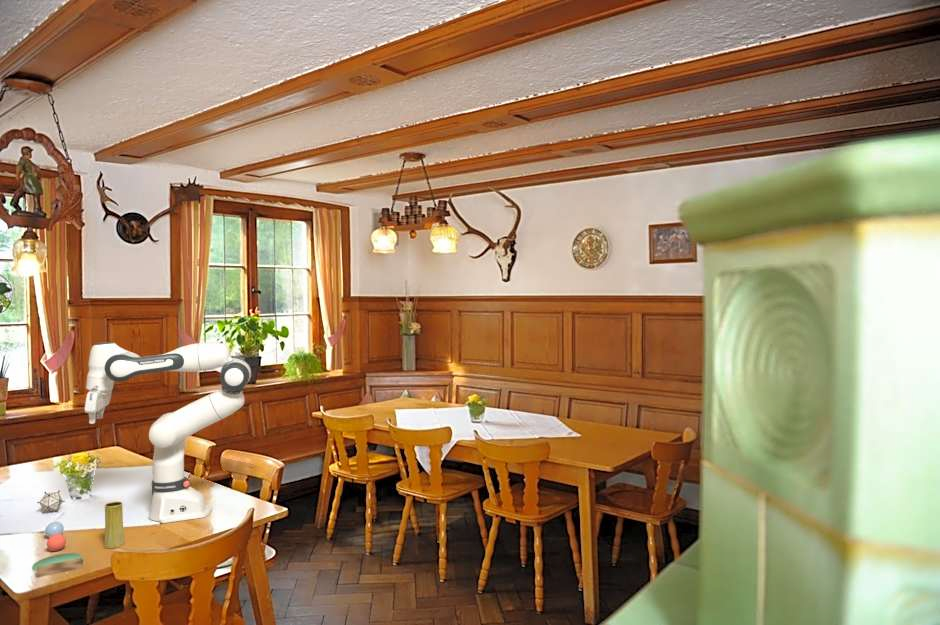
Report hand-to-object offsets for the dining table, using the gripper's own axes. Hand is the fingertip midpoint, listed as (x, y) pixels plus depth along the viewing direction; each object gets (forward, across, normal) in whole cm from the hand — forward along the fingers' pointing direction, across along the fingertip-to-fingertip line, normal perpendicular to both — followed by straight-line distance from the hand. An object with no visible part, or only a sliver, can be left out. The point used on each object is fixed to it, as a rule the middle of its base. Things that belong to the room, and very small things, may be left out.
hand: (95, 420), depth 243 cm
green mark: (+38, -39, -3) cm, 55 cm away
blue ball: (+36, -15, +6) cm, 40 cm away
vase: (+37, -28, -16) cm, 49 cm away
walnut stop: (+38, -47, -6) cm, 60 cm away
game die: (+41, +17, +16) cm, 47 cm away
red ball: (+36, -28, +1) cm, 45 cm away
